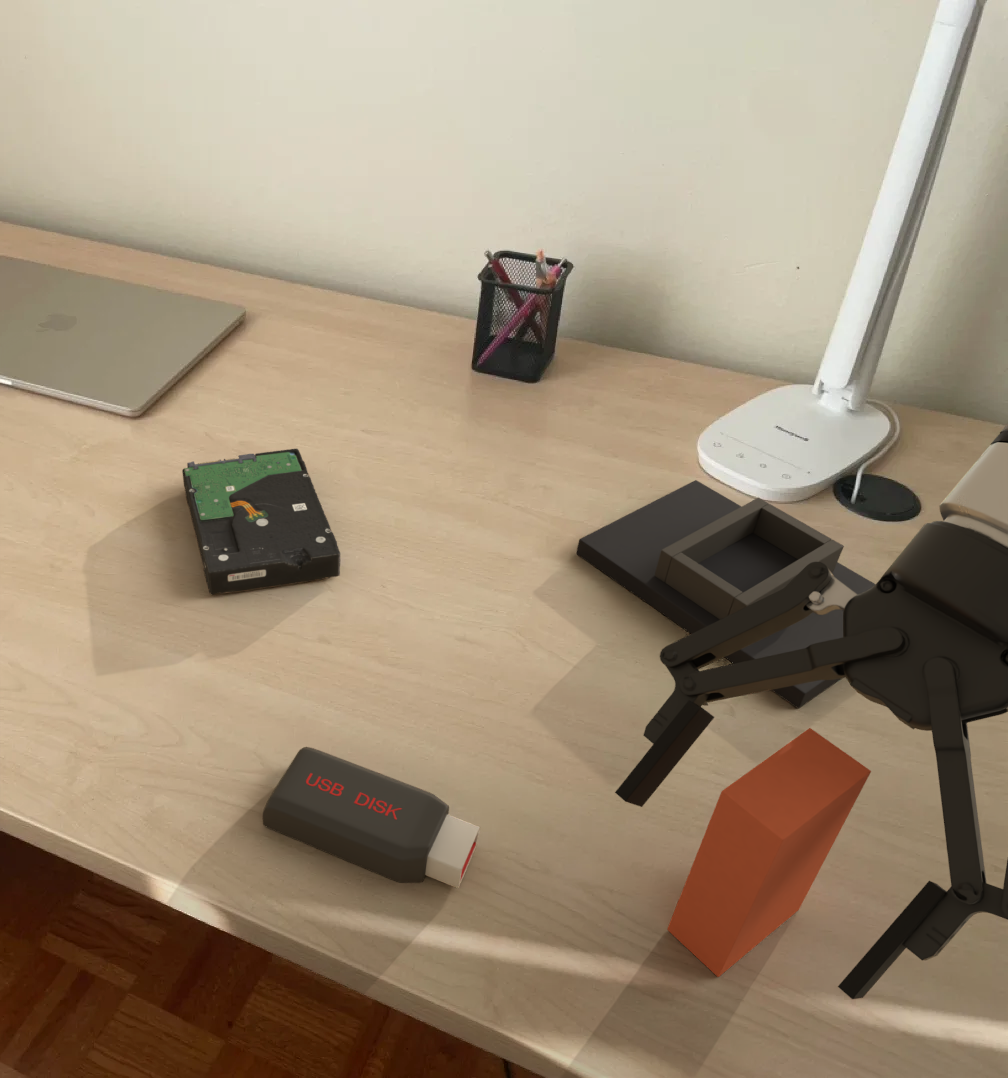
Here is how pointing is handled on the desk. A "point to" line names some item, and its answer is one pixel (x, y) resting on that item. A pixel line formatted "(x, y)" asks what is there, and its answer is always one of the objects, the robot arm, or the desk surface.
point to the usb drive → (370, 820)
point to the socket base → (721, 567)
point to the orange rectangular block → (765, 848)
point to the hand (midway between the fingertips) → (729, 889)
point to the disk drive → (259, 522)
